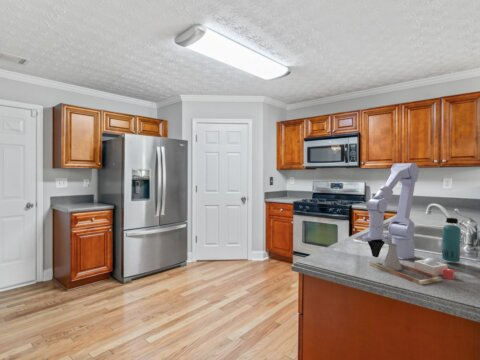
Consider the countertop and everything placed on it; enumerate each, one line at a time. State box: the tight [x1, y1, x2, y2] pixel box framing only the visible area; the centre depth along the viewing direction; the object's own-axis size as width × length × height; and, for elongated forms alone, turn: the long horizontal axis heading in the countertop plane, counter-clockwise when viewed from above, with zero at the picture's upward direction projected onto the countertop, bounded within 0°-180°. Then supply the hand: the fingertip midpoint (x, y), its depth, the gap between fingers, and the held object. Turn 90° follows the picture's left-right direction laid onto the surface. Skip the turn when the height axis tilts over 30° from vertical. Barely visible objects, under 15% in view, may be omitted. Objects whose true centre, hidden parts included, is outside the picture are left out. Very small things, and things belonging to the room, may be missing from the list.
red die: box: [442, 267, 456, 281], centre depth 108 cm, size 3×3×3 cm
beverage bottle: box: [441, 217, 461, 263], centre depth 125 cm, size 6×7×20 cm
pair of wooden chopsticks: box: [369, 261, 443, 285], centre depth 114 cm, size 11×23×1 cm, turn 22°
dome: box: [423, 257, 438, 266], centre depth 114 cm, size 5×5×5 cm
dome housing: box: [413, 259, 449, 276], centre depth 114 cm, size 8×8×4 cm
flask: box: [381, 243, 403, 272], centre depth 118 cm, size 7×7×10 cm
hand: (375, 256), depth 126 cm, fingers closed
